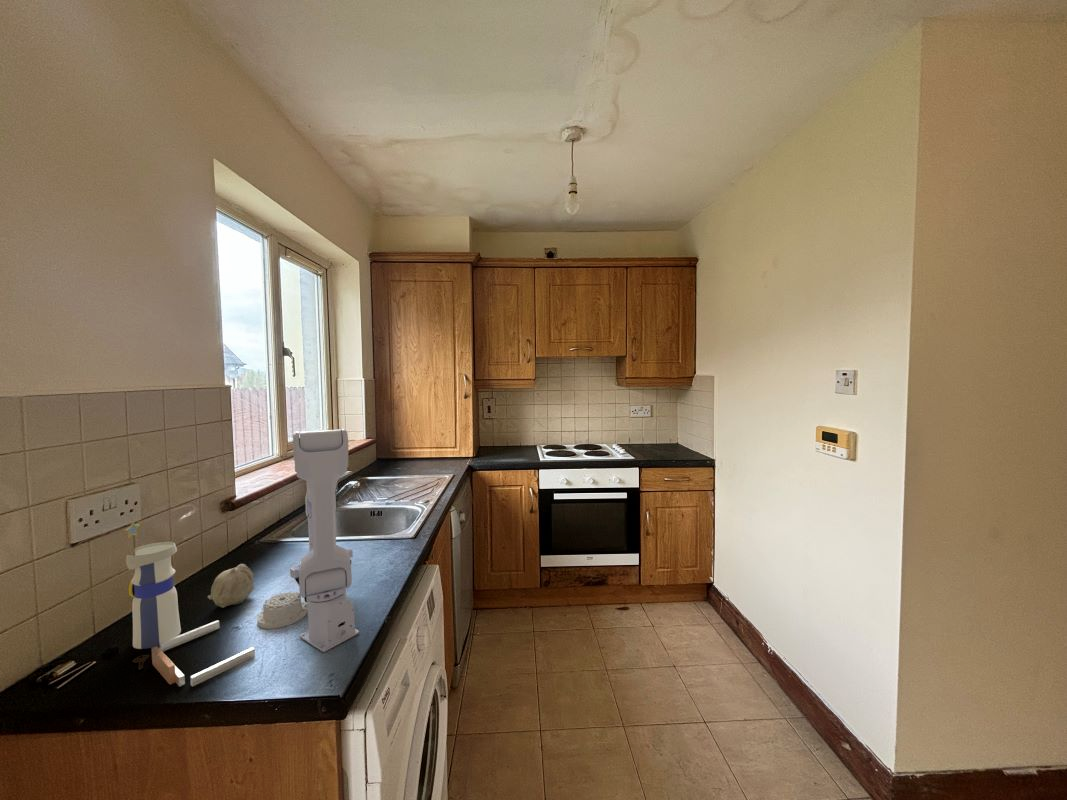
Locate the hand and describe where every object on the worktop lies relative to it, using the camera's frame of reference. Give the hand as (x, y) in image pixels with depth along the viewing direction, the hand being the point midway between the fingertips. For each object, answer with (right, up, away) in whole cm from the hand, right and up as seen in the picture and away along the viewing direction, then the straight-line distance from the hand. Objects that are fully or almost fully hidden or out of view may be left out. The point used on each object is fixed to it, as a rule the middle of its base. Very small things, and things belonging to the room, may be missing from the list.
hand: (324, 595), depth 105 cm
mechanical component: (-6, -2, -6) cm, 9 cm away
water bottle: (-29, -3, -14) cm, 32 cm away
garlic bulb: (-22, -2, 0) cm, 22 cm away
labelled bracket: (-14, -3, -21) cm, 25 cm away
